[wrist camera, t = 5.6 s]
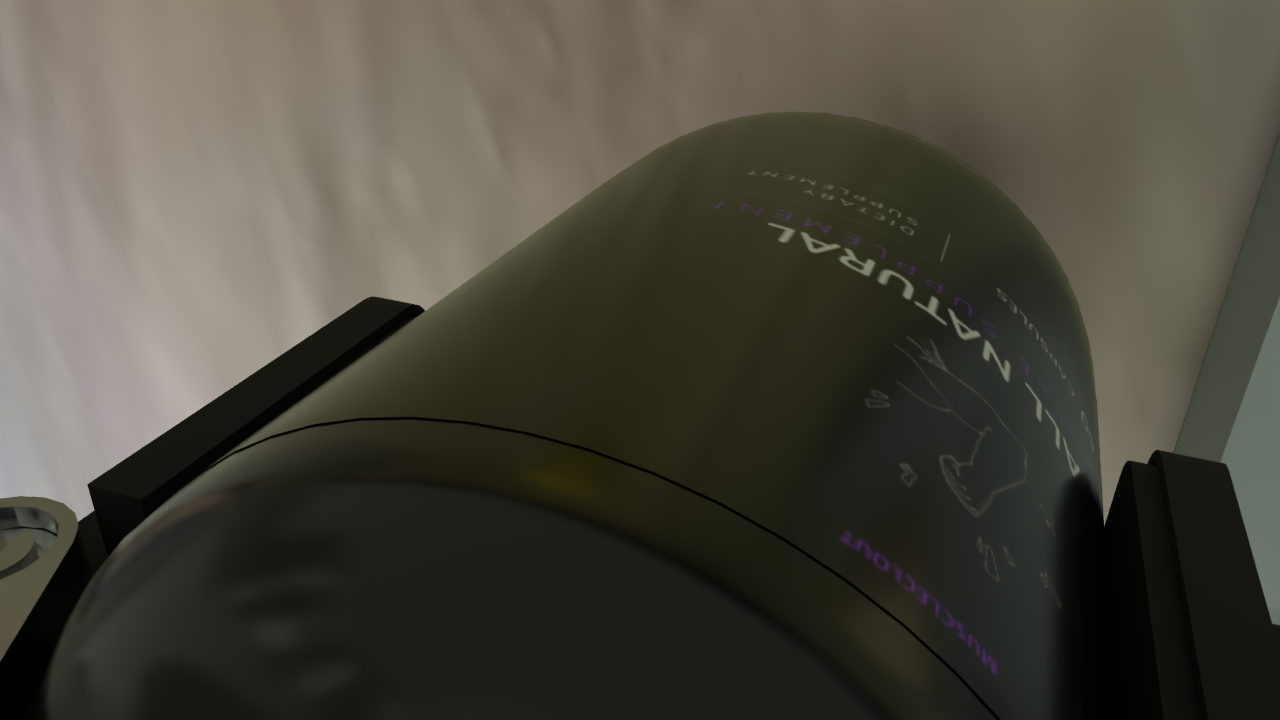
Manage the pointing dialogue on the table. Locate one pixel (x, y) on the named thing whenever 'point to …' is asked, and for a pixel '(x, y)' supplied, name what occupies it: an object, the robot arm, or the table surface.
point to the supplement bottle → (660, 475)
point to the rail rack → (1248, 388)
